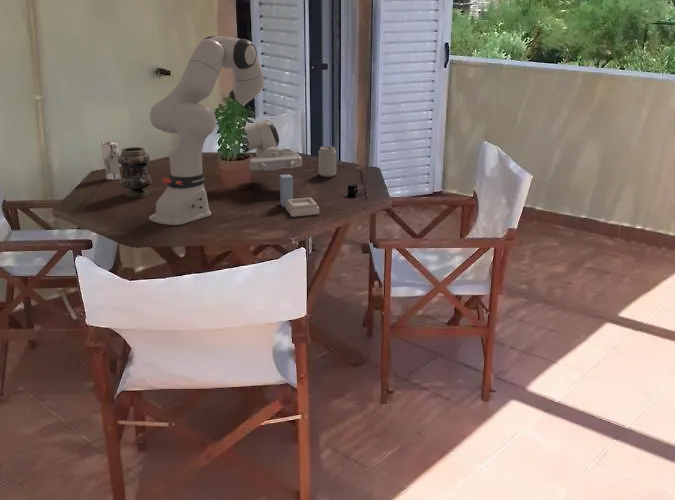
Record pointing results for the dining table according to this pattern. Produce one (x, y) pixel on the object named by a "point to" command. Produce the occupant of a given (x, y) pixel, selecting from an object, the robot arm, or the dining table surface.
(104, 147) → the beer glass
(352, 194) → the black box
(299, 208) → the footing
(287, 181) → the pillar
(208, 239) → the dining table surface
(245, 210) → the dining table surface
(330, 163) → the can
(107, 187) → the dining table surface
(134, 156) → the apothecary jar
